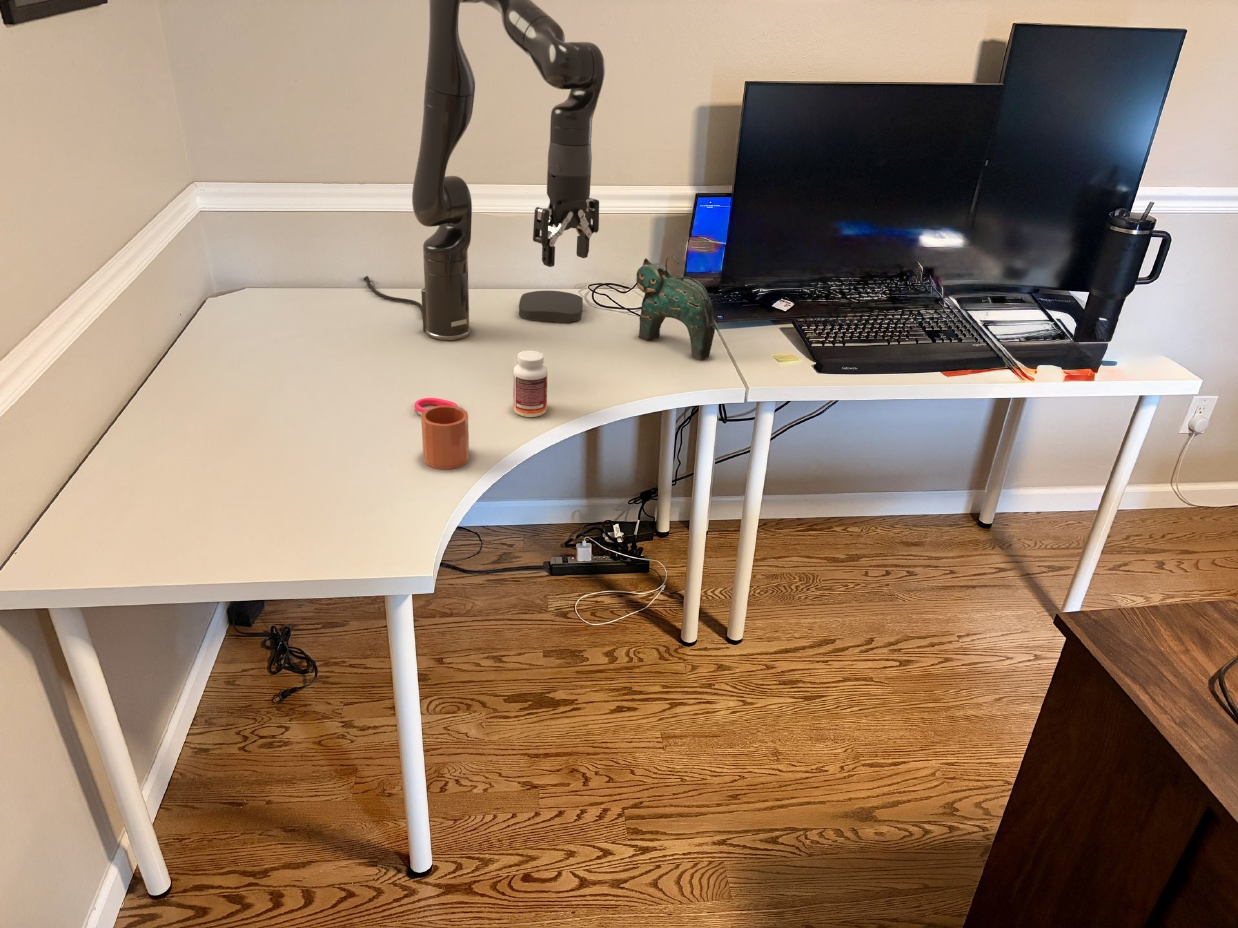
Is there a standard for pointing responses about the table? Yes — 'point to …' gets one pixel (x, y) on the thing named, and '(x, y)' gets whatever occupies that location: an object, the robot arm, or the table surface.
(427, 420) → the clay pot
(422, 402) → the fitness band
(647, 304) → the ceramic cat
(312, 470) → the table surface
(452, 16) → the robot arm
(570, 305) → the media streaming box
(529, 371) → the pill bottle
